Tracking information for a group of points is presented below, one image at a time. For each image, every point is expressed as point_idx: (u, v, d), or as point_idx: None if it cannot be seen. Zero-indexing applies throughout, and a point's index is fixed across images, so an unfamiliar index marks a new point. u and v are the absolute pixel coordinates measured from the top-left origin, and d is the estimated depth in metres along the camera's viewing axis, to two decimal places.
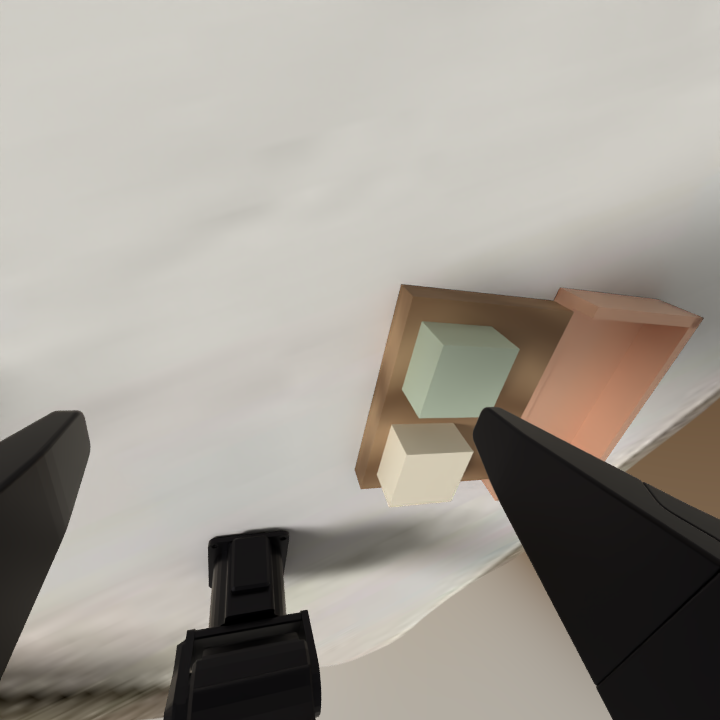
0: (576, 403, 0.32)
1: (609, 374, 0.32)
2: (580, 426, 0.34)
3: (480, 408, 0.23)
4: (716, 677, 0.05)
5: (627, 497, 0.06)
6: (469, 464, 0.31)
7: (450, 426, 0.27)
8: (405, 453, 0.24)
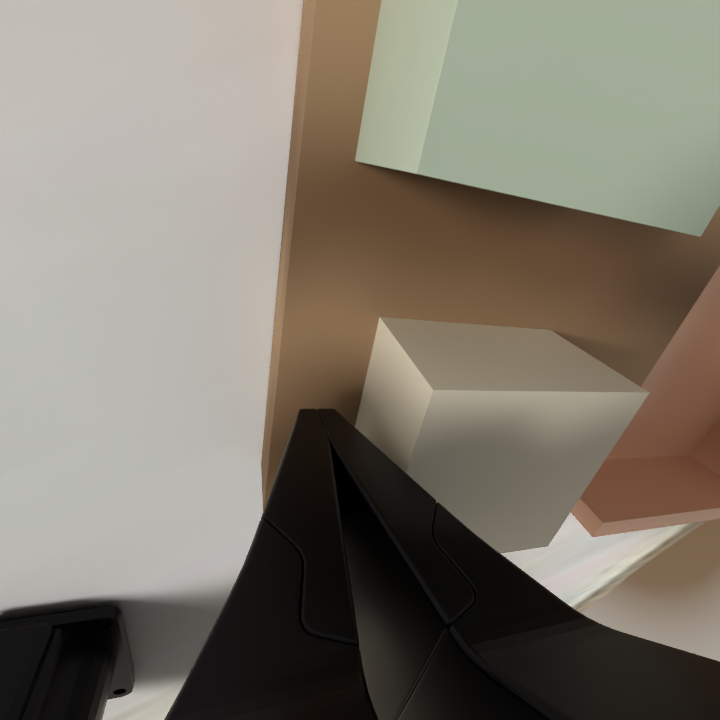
0: None
1: None
2: None
3: (687, 176, 0.05)
4: None
5: (395, 523, 0.05)
6: None
7: (546, 335, 0.10)
8: (429, 385, 0.06)
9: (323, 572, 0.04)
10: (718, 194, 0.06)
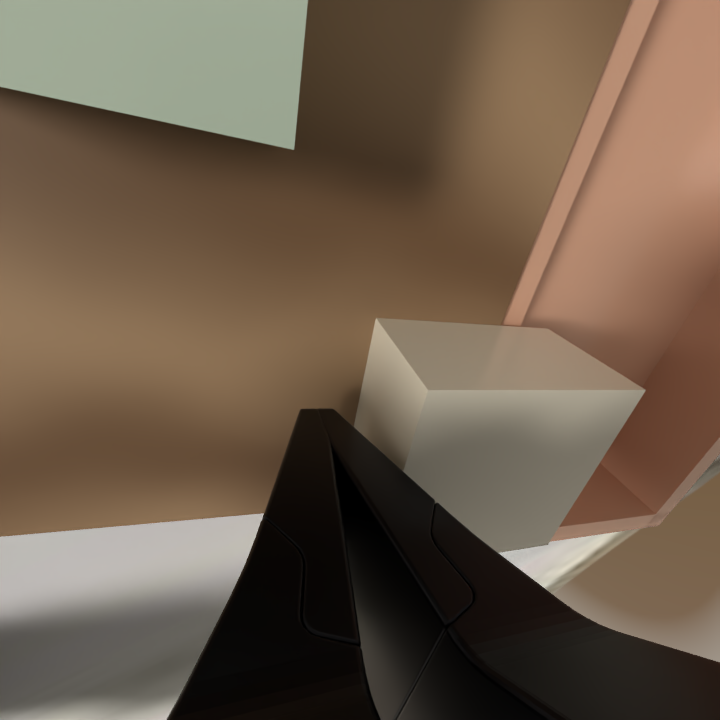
0: (650, 304, 0.13)
1: None
2: (650, 373, 0.15)
3: (196, 38, 0.03)
4: None
5: (394, 524, 0.05)
6: None
7: (543, 333, 0.10)
8: (424, 384, 0.06)
9: (324, 572, 0.04)
10: (285, 76, 0.04)
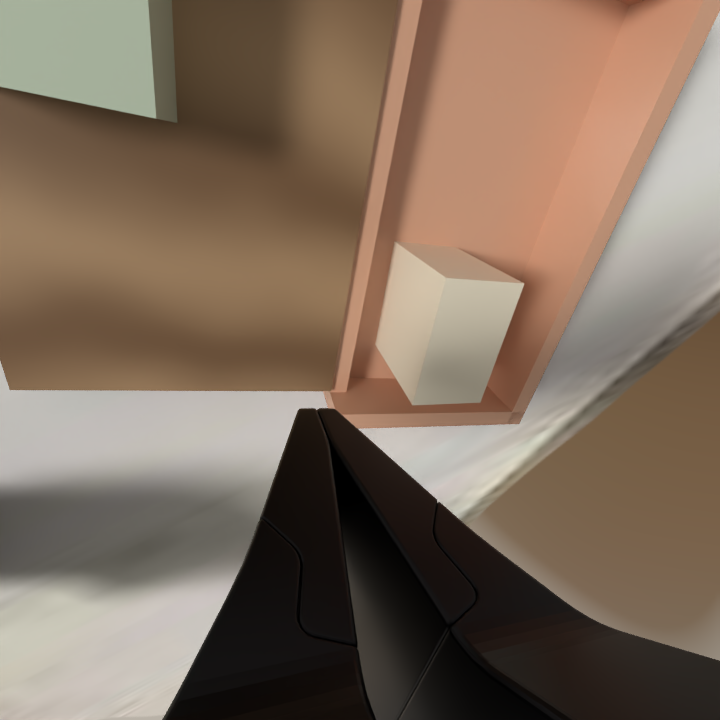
0: (494, 246, 0.17)
1: (552, 180, 0.16)
2: None
3: (103, 69, 0.08)
4: None
5: (396, 524, 0.05)
6: (270, 351, 0.15)
7: (406, 244, 0.16)
8: (520, 283, 0.12)
9: (321, 572, 0.04)
10: (146, 84, 0.08)
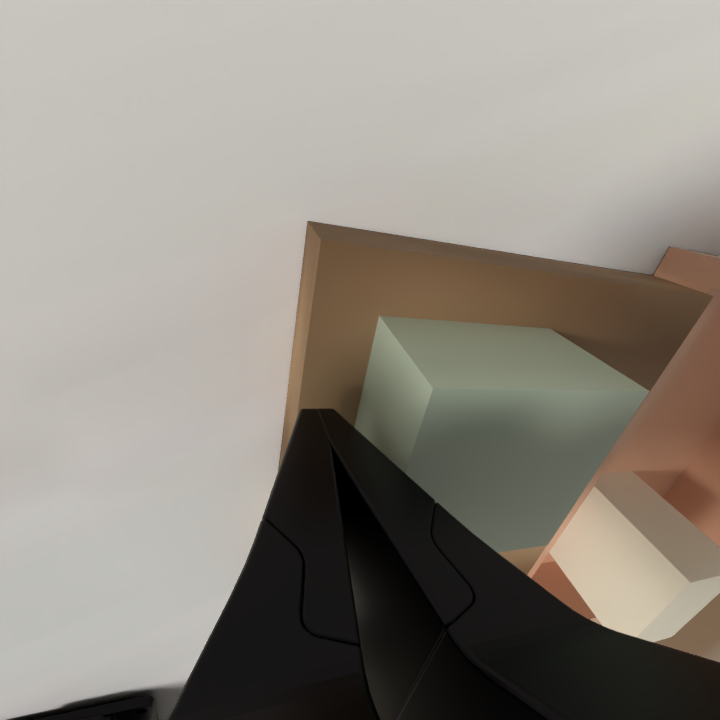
0: (662, 464, 0.19)
1: None
2: None
3: (529, 531, 0.09)
4: None
5: (394, 524, 0.05)
6: None
7: (598, 482, 0.17)
8: None
9: (324, 572, 0.04)
10: (552, 531, 0.10)
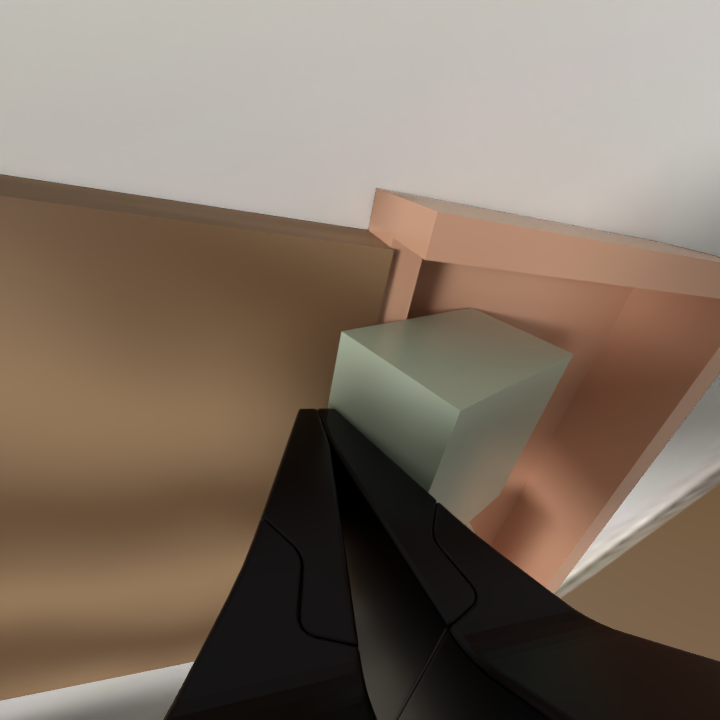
0: None
1: (555, 416, 0.14)
2: (508, 514, 0.17)
3: (492, 492, 0.10)
4: None
5: (395, 524, 0.05)
6: None
7: None
8: None
9: (322, 572, 0.04)
10: (504, 483, 0.11)
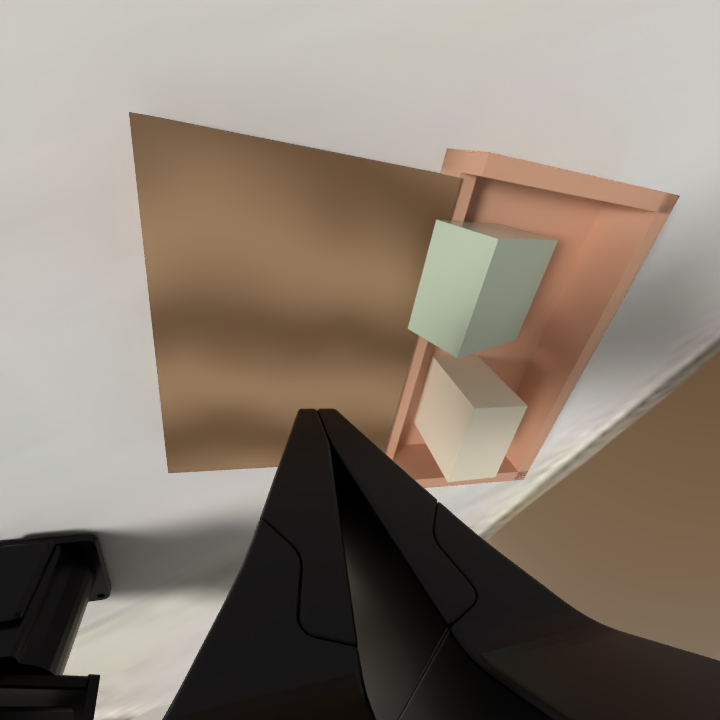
0: (505, 352, 0.23)
1: (549, 307, 0.22)
2: (517, 388, 0.25)
3: (511, 330, 0.18)
4: None
5: (396, 524, 0.05)
6: None
7: (441, 359, 0.21)
8: (525, 406, 0.18)
9: (322, 572, 0.04)
10: (518, 329, 0.18)
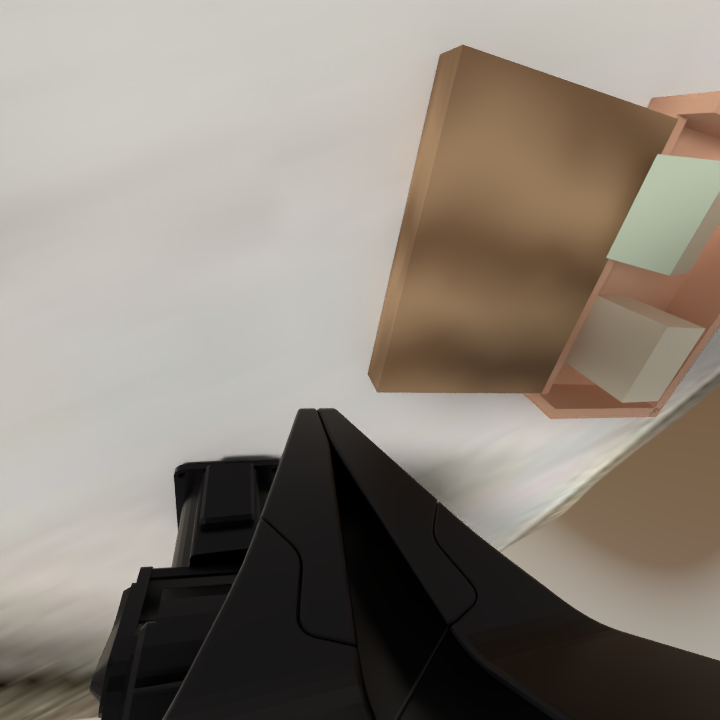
0: (651, 295, 0.25)
1: None
2: None
3: (693, 260, 0.20)
4: None
5: (396, 523, 0.05)
6: (518, 367, 0.23)
7: (605, 297, 0.24)
8: (703, 328, 0.21)
9: (321, 572, 0.04)
10: None
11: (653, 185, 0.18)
